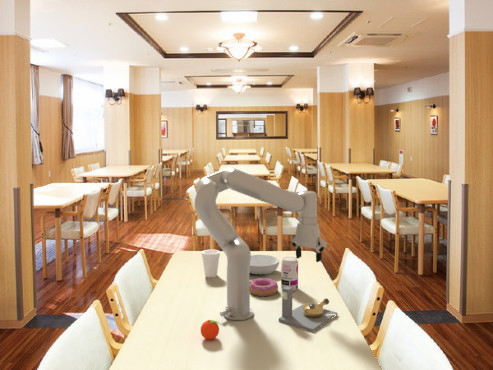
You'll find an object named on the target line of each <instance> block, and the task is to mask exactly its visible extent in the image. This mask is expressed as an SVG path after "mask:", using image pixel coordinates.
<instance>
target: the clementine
mask: <svg viewBox="0 0 493 370" xmlns="http://www.w3.org/2000/svg"><path fill="white" fill-rule="evenodd" d="M219 325H220V326H222V324H221V323H220V322H219V321H217V320H213V319H208V320H205V321H204V322H203V323H202V324H201V327H200V334H201V336H202V337H203V338H204V339H206V340H209V341H211V340H214V339H216V338H217V337H218V335H219V332H220V327H219Z"/></svg>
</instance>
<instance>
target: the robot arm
mask: <svg viewBox="0 0 493 370" xmlns="http://www.w3.org/2000/svg"><path fill="white" fill-rule="evenodd" d="M228 189H229V190H231V191H234V192H237V193H239V194H243V195H245V196H248V197H250V198H253V199H255V200H257V201H260V202H264V203H267V204H269V205H273V206H275V207H278V208H281V209H284V210H286V211H288V212H291V213H298V216H297V217H296V220H298V223H297V224H296V230H295V236H292V237H290V241H291V244H292V246H293V247H294V250H295V258H296V259H300V258H302V248H307V249H315V251H316V253H315V257H316V258H315V262H316V263H319V262H321V261H322V259H323V255H322V252H323V251H324V250H326V248H327V245H328V242H327V241H325V240H324V239H322V238H321V231H320V225H319V223H318V195H317V193H316V192H315V191H312V190H304V191H303V190H302V191H289V190H287V189H285V188H282V187H279V186H278V185H275V184H273V183H271V182H270V181H268V180H266V179H263V178H259V177H257V176H255V175H253V174H251V173H250V174H249V173H247V172H245V171H242V170H241V169H237V168H235V167H227V168H224V169H222V170H219V171H216V172H215V173H212V174H210V175H206V176H204V177H202V178H200V179H199V180H198V181H197V182H196V184H195V191H196V194H195V198H194V209H195V212H196V215H197V216H198V218H199V220H201V222H202V224H203V225H204V226H205V228H206V229H207V231H208V232H209V234H210V236H211V237H212V239H213V240H214V241H215V242H216V244H217V245H218V246H219V248H221V250H222V251H223V253H224V254H225V256H226V259H227V263H226V305H225V309H224V310H221V311H220V312H219V316H220V317H224V318H226V319H228V320H231V321H245V320H248V319H251V318H252V317H253V316H254V310H253V309H252V308H251V302H250V301H251V293H250V281H251V280H250V278H251V277H250V276H251V275H250V274H251V273H250V261H251V255H252V252H251V249H250V247H249V245H248V244H247V243H246V242H245V240H243V239H242V237H241V236H240V235H239V233H238V231H236V229H235V228H234V226H233V225H232V223H231V222H230V221H229V220H228V219H227V218H226V217H225V216H224V213H222V212H221V210H220V208H219V207H218V205H217V198H218V196H219V193H222V192H223V191H226V190H228Z"/></svg>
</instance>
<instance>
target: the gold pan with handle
mask: <svg viewBox="0 0 493 370" xmlns="http://www.w3.org/2000/svg"><path fill="white" fill-rule="evenodd" d="M329 303H330V300H329V298H323V300H322V301H321V302H319V303H315V302H308V303H304V304H305V305H304V306H303V314H304V315H305V316H307V317H310V318H318V317H321V316H322V315H323V309H324V306H325V305H328V304H329Z"/></svg>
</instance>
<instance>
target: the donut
mask: <svg viewBox="0 0 493 370" xmlns="http://www.w3.org/2000/svg"><path fill="white" fill-rule="evenodd" d="M278 290H279V285H278V283H277V281H276V280H274V279H272V278H267V277H266V278H264V277H263V278H262V277H259V278H253V279H252V280H250V294H252V295H253V296H258V297H270V296H273V295H275V294H277V291H278Z"/></svg>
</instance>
